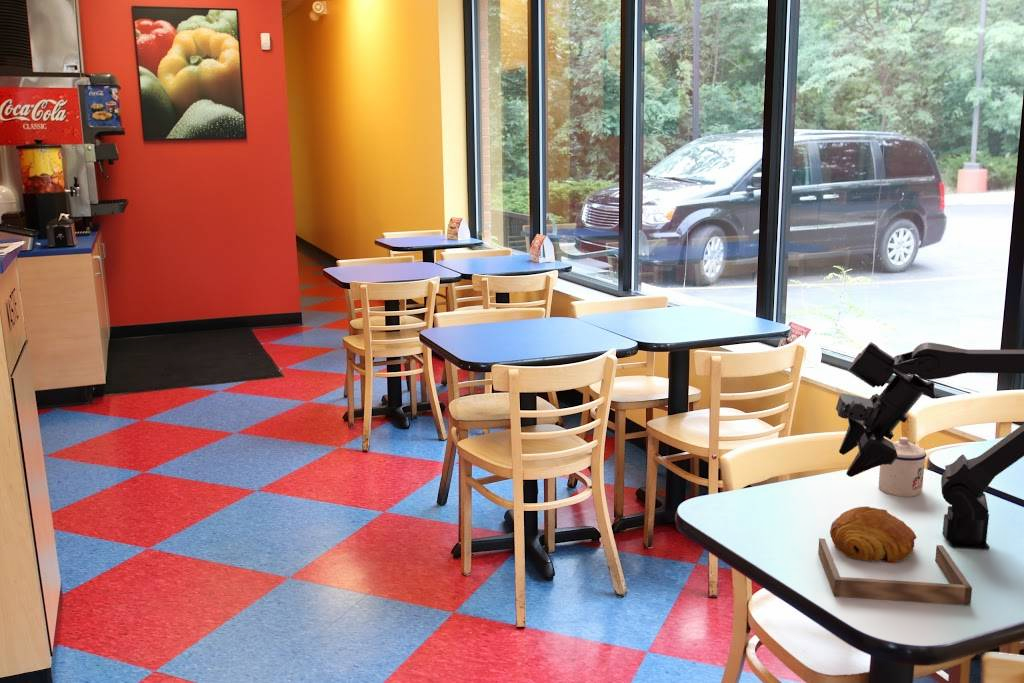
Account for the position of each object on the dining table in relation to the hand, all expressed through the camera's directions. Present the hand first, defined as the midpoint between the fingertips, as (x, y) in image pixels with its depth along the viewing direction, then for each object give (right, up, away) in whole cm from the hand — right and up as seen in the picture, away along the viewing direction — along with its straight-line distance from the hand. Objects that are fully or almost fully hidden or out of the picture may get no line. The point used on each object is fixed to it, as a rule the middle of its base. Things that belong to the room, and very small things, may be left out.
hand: (844, 464), depth 173 cm
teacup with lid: (+20, -8, +21) cm, 30 cm away
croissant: (+2, -15, -8) cm, 17 cm away
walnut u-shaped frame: (0, -17, -20) cm, 26 cm away
